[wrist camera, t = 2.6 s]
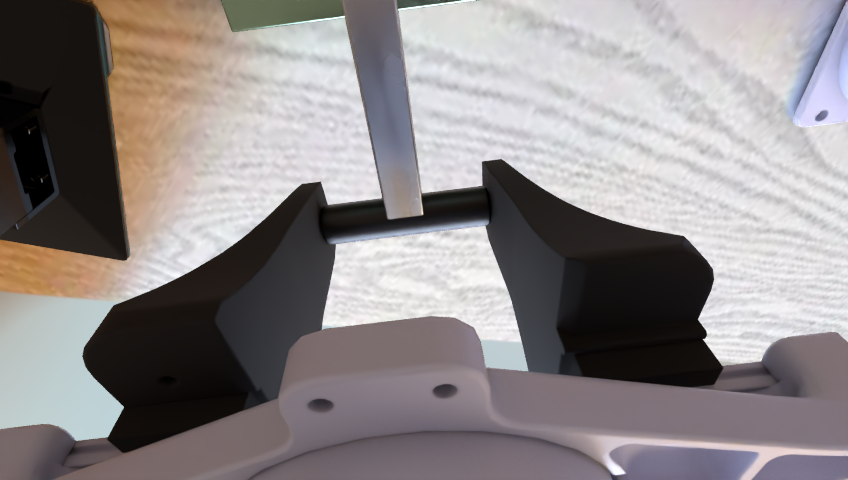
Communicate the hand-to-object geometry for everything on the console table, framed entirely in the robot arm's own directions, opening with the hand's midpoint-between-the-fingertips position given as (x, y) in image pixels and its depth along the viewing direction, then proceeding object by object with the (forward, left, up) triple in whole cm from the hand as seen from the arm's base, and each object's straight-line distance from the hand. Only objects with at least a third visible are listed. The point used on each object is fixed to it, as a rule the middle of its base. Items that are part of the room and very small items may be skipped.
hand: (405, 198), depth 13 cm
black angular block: (+16, -2, -7) cm, 17 cm away
